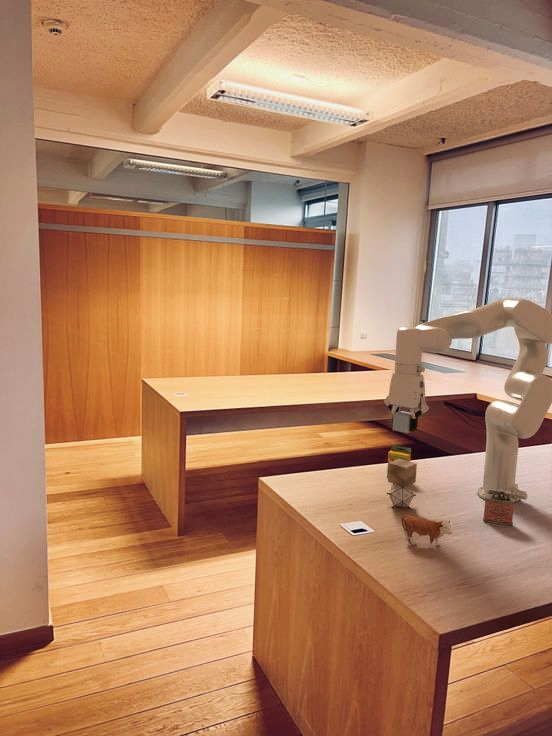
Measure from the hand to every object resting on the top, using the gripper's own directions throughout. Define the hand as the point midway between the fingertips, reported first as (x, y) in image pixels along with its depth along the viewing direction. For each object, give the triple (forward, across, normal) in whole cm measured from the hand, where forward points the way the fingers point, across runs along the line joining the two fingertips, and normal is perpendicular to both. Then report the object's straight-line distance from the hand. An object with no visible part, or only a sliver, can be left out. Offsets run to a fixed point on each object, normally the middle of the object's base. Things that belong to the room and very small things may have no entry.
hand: (404, 428), depth 165 cm
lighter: (+25, -26, -10) cm, 38 cm away
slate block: (+1, 0, 0) cm, 1 cm away
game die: (+25, 0, 0) cm, 25 cm away
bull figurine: (+25, -18, +17) cm, 35 cm away
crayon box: (+25, +13, -20) cm, 35 cm away
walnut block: (+17, 0, 0) cm, 17 cm away
